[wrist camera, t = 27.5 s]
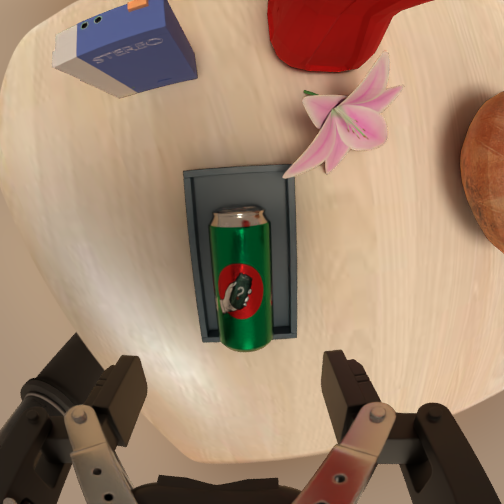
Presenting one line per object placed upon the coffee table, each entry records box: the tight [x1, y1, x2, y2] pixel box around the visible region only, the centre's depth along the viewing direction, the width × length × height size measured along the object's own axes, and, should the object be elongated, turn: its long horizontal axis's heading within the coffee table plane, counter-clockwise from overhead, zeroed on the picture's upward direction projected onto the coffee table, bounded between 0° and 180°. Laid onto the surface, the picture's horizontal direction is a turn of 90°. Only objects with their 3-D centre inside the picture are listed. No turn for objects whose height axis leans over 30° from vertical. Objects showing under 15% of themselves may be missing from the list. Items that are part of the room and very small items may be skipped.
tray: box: [183, 164, 297, 342], centre depth 28 cm, size 16×9×2 cm, turn 3°
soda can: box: [208, 206, 274, 352], centre depth 26 cm, size 5×5×12 cm
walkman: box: [52, 0, 198, 98], centre depth 18 cm, size 8×3×12 cm, turn 98°
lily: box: [282, 51, 404, 179], centre depth 22 cm, size 12×12×10 cm
